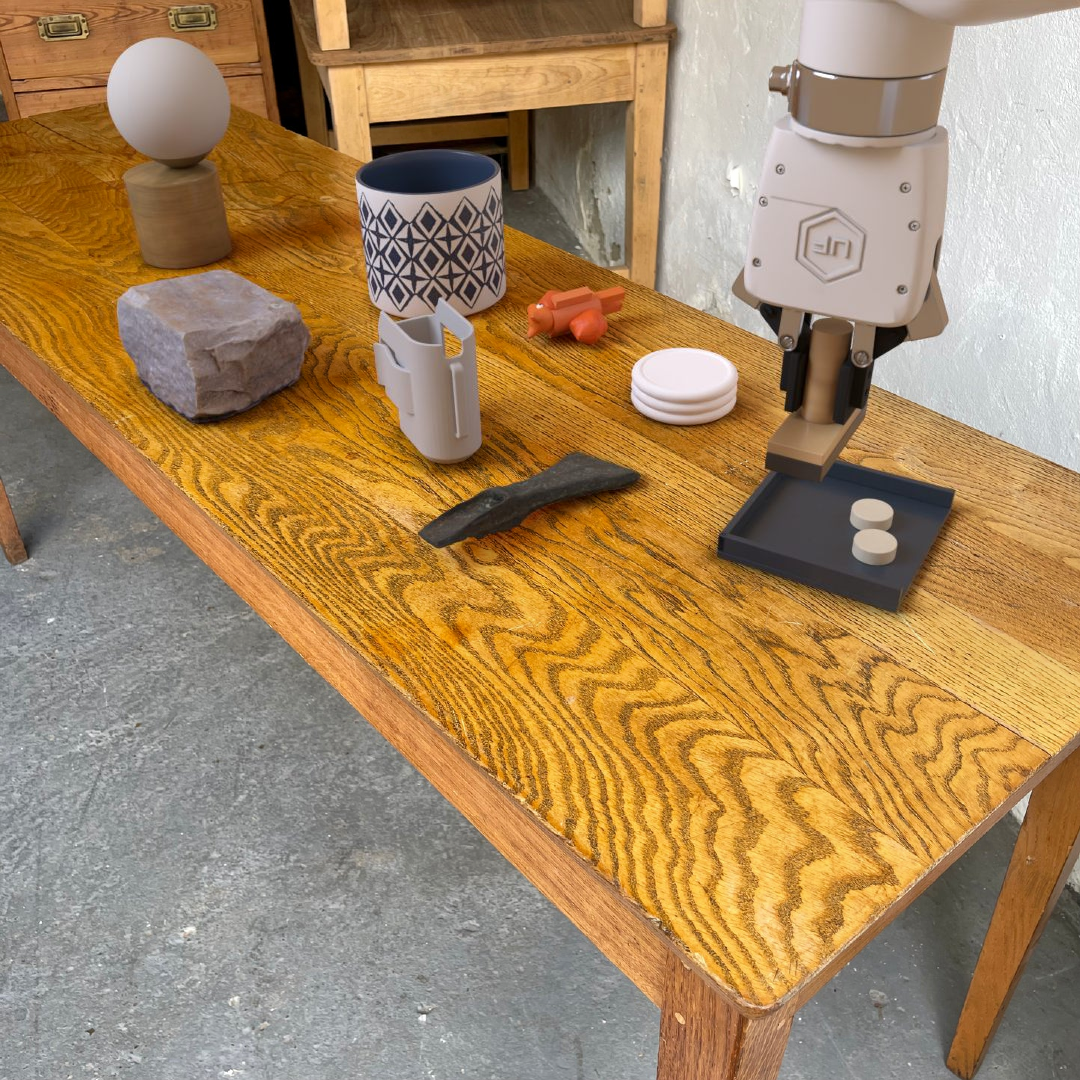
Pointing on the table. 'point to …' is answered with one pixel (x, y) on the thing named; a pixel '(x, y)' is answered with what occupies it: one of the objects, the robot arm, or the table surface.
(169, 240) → the lamp
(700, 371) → the coaster
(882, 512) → the disc
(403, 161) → the planter
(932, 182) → the robot arm
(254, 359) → the stone block
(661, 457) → the table surface
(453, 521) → the tool
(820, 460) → the brush
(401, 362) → the cable organizer
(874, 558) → the disc
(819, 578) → the tray
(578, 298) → the orange toy bird
